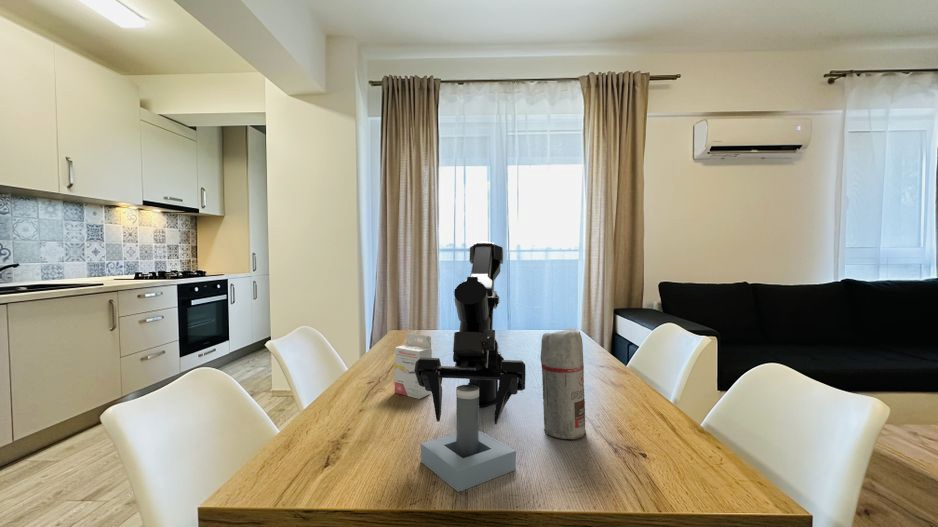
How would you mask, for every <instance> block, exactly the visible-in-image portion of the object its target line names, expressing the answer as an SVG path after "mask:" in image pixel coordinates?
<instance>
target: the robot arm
mask: <svg viewBox="0 0 938 527" xmlns="http://www.w3.org/2000/svg"><path fill="white" fill-rule="evenodd" d="M468 261H469V263H470V264H472V265H471V271H470V276H467V277H466V279H465V280H463V282H461V283H459V284H458V285H457V286H456V287H455V289H454V290H453V294H454V303H455V307H456V313H457V317H458V318H457V319H458V320H459V321H460V322H459V331H455V332H454V333H453V334H454V336H453V346H452V352H453V355H452V361H453V362H454V365H453V366H452V365H451V366H450V365H449V366H448V365H442V364H441V360H440V358H439V357H432V358H420V359H419V360H418V361H417V362H416V365H415V369H414V371H415V374H416V377H417V380H418V383H419V385H420V386H422V387H425V389H426V390H427V391H431V395H432V401H433V407H434V408H433V409H434V413H435V418H436V422H438V423H439V422H440V420H441V416H442V405H443V404H442V402H443V387H442V382H443V379H462V380H463V379H464V380H465V379H466V380H469V382H468V383H467V385H475V386H478V387H479V408H484V407H488V406H492V405H495V407H494V413H493V415H494V416H493V417H494V418H493V420H494V425H498V423H499V420H500V418H501V416H502V414H503V411H504V409H505V406H506V404H507V403H508V401H509V399H510V398H511V397H512V396H513V395H514V396H515V395H517V394H518V391H521V392H522V391H524V390H526V372H527V371H526V363H525V362H524V361H523V360H517V359H515V360H513V359H512V360H511V359H505V358H504V357H503V354H502V351H499V344H498V343H499V342H497V340H496V329H493V328H494V327H493V326H494V309H495V310H496V309H497V308H498V305H499V303H500V295H498V293H497V291H496V290H495V281H496V279H497V278H498V276H499V275H500V273H501V268H502V267H501V264H502V265H503V264H504V248H503V247H502V246H500V245H498V244H496V243H495V242H492V241H476V242H474V243H473V245H471V246H469V260H468Z"/></svg>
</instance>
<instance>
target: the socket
mask: <svg viewBox="0 0 938 527" xmlns="http://www.w3.org/2000/svg"><path fill="white" fill-rule="evenodd" d="M420 463H422V464H423V465H424V466H426V467H427V468H428V469H429V470H431V471H432V472H433V473H434V474H435V475H437V476H438V477H439V478H440V479H441V480H443V481H444V482H445V483H446V484H448V486H450V487H451V488H453V489H454V490H455V492H457V493H460V492H463V491H465V490H467V489H471V488H472V487H474V486H477V485H480V484H483V483H486V482H488V481H491V480H492V479H493V480H494V479H495V478H499V477H500V476H503V475H506V474H508V473H512V472H513V471H516V469H517V467H516V466H517V451H516V449H514V448H512V447H510V446H508V445H506V444H505V443H503V442H501V441H499V440H497V439H496V438H494V437H492V436H489V435H488V434H486V433H484V431H483V432H482V431H480V430H479V453H478V454H475V455H472V456H469V457H466V458H462V457H460V456H459V455H457V454H456V432H455V433H453V434H448V435H446V436H442V437H439V438H434V439H431V440H426V441H424V442H421V443H420ZM459 491H460V492H459Z"/></svg>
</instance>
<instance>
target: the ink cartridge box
mask: <svg viewBox="0 0 938 527" xmlns="http://www.w3.org/2000/svg"><path fill="white" fill-rule="evenodd" d="M417 339H419V340H422V341H417ZM406 341H407V344H403V345H399V346H396V347H394V393H395V394H398V395H402V396H405V397H410V398H414V399H418V400H420V399H423V398H424V397H428V396H429V395H432V392H431V391H427V390H426V389H425V387H422V386H420V385H419V383H418V380H417V377H416V374H415V371H414V369H415V365H416V362H417V361H418V360H419V359H420V358H433V355H432V352H433V351H432V350H433V349H432V338H431V336H430V335H423V334H417V333H410V332H408V333H406Z"/></svg>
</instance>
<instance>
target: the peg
mask: <svg viewBox="0 0 938 527" xmlns="http://www.w3.org/2000/svg"><path fill="white" fill-rule="evenodd" d="M455 389H456V390H455V395H456V411H455V412H456V414H455V415H456V421H455V423H456V425H455V426H456V427H455V428H456V430H455V433H456V454H457V455H459V456H460V457H462V458H466V457H469V456H472V455H475V454H478V453H479V431H480V429H479V427H480V426H479V425H480V424H479V422H480V421H479V418H480V416H479V415H480V413H479V411H480V410H479V409H480V407H479V387H478V386H475V385H468V384H462V385H461V384H460V385H457V387H456V388H455Z"/></svg>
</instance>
